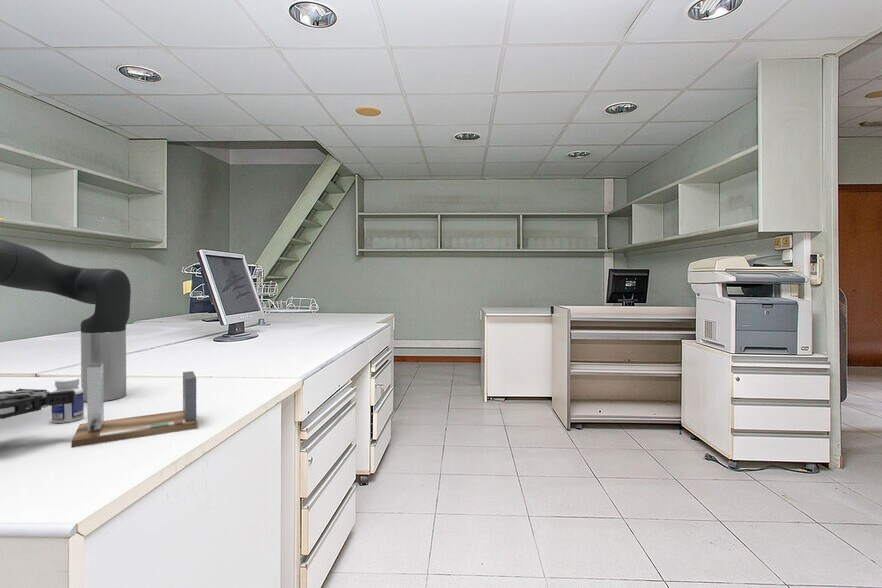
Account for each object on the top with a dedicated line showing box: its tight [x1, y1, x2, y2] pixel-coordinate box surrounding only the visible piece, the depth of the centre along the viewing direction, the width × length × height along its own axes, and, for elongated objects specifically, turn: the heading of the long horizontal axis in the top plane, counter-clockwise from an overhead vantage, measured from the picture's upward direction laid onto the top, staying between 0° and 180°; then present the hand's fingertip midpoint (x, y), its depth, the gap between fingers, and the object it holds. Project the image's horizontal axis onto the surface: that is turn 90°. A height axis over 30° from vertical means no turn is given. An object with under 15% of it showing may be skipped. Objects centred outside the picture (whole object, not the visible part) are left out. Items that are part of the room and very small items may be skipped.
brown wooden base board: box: [71, 410, 198, 448], centre depth 90 cm, size 11×20×2 cm, turn 124°
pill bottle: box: [51, 376, 85, 424], centre depth 95 cm, size 5×5×9 cm
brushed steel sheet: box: [86, 362, 105, 431], centre depth 85 cm, size 9×2×12 cm, turn 34°
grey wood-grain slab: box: [182, 371, 197, 422], centre depth 95 cm, size 8×2×9 cm, turn 34°
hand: (74, 396), depth 84 cm, fingers closed
